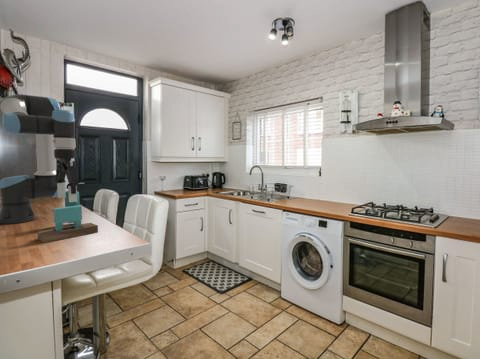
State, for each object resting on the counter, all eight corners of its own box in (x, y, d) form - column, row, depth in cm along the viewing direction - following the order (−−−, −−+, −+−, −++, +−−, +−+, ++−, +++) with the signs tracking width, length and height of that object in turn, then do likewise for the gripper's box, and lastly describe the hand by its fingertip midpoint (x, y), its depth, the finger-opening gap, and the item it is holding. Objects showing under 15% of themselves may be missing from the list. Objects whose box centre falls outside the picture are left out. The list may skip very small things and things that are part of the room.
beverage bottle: (68, 226, 128) (66, 184, 127) (63, 224, 132) (61, 184, 131) (83, 224, 134) (81, 183, 132) (77, 222, 138) (75, 183, 136)
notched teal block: (54, 237, 111) (53, 208, 110) (79, 232, 118) (78, 205, 117) (57, 238, 109) (55, 209, 108) (82, 233, 117) (81, 206, 116)
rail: (37, 238, 109) (37, 231, 109) (90, 229, 124) (90, 222, 124) (43, 242, 104) (43, 235, 103) (98, 232, 119) (97, 225, 119)
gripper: (45, 148, 116) (47, 197, 118) (64, 148, 100) (67, 204, 102) (64, 149, 122) (67, 195, 124) (86, 148, 106) (88, 202, 108)
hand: (67, 199), depth 113 cm, fingers open, 13 cm apart
